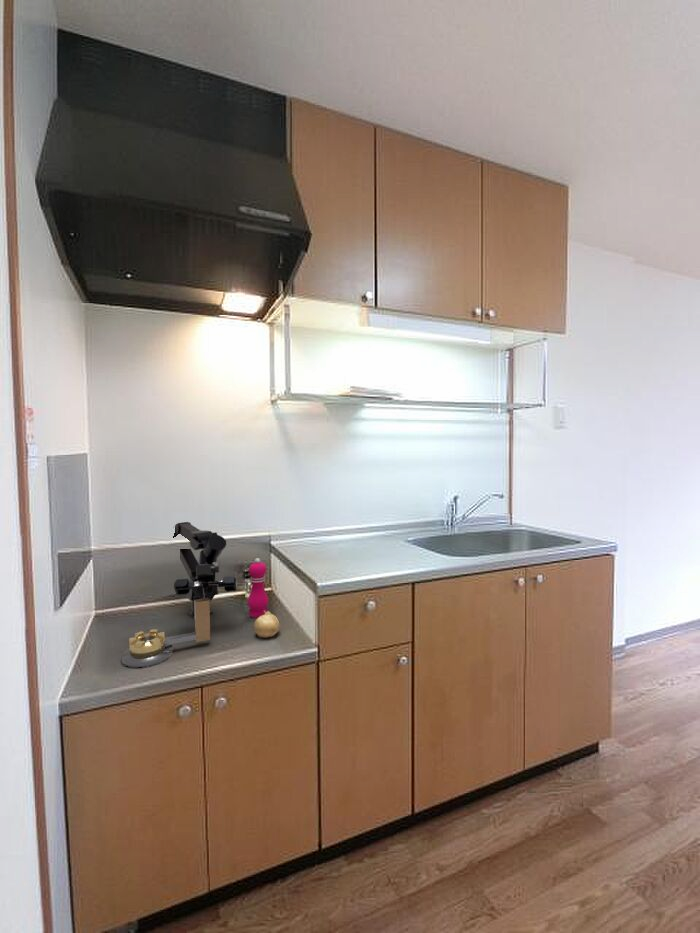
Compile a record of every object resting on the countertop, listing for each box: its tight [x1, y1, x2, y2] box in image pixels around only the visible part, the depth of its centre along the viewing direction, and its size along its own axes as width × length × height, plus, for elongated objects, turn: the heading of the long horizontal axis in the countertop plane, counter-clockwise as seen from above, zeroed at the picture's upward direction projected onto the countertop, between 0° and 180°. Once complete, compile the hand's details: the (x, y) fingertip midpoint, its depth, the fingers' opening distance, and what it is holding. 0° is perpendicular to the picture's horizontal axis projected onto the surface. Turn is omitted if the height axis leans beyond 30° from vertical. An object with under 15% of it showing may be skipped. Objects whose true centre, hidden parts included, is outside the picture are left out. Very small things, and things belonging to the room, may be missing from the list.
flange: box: [121, 644, 173, 669], centre depth 124 cm, size 13×13×2 cm
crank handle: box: [128, 598, 211, 658], centre depth 127 cm, size 22×9×12 cm, turn 116°
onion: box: [253, 610, 280, 639], centre depth 138 cm, size 8×8×7 cm
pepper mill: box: [247, 557, 269, 619], centre depth 153 cm, size 7×7×20 cm
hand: (204, 610), depth 135 cm, fingers closed
